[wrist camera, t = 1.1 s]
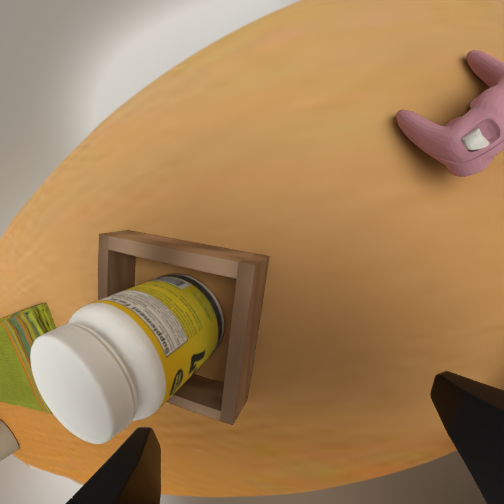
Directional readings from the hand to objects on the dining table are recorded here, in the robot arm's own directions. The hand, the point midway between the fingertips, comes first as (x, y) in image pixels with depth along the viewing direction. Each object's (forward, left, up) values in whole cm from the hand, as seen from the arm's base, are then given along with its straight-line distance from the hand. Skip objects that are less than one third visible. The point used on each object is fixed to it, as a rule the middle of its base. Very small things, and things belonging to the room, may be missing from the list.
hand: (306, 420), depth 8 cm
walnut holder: (+7, +9, -13) cm, 17 cm away
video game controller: (0, -16, -13) cm, 21 cm away
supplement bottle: (+7, +9, -13) cm, 17 cm away
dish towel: (+25, +40, -14) cm, 49 cm away
